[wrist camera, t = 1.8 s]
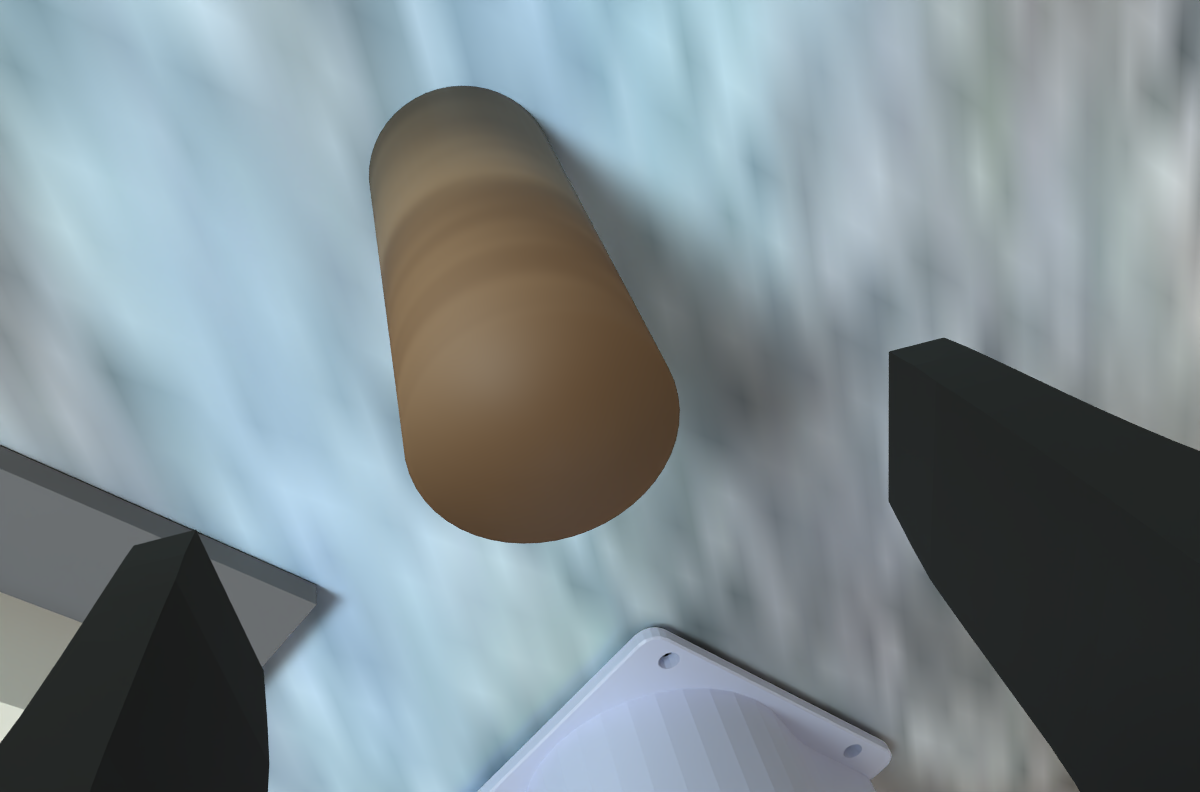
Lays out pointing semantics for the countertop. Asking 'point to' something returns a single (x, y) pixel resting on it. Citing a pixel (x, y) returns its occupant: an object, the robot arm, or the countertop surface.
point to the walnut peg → (510, 328)
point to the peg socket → (100, 573)
